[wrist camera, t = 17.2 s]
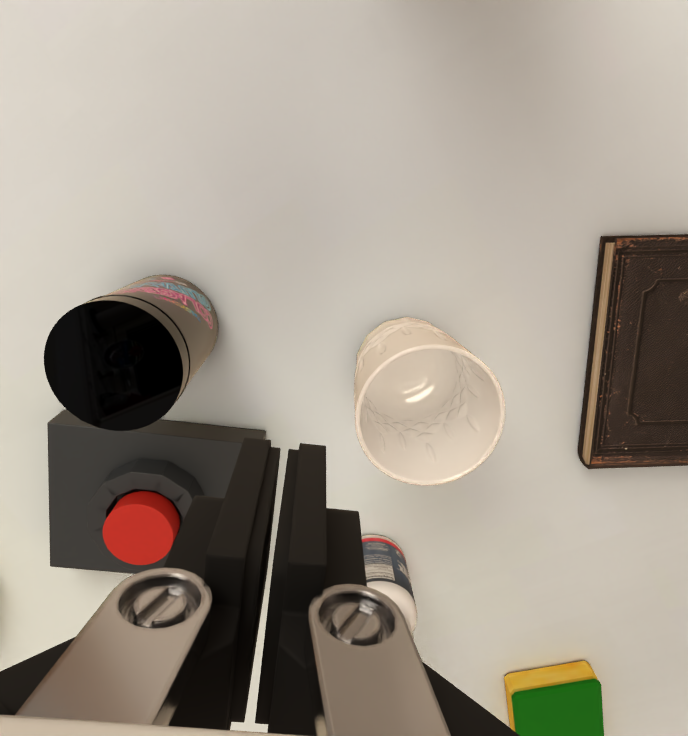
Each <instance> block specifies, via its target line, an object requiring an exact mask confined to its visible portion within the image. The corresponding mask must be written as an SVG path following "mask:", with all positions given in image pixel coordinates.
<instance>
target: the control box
mask: <svg viewBox="0 0 688 736" xmlns="http://www.w3.org/2000/svg"><path fill="white" fill-rule="evenodd" d="M265 436H266V431H262V430H253V429H243V428H234V427H224V426H215V425H205V424H196V423H187V422H177V421H168V420H157V421H156V422H154V423H152V424H150V425H148V426H145V427H143V428H139V429H136V430H130V431H112V430H106V429H101V428H98V427H95V426H93V425H90V424H88V423H86V422H84V421H82V420H80V419H79V418H77V417H76V416H74V415H73V414H72V413H71V412H69V411H68V410H63V411H62V412H61V413H59V414H58V415H57V416H56V417H54V418H53V419H52V420H51V421H49V422H48V468H49V522H50V566H52V567H63V568H75V569H86V570H98V571H109V572H121V573H133V574H136V573H140V572H143V571H146V570H149V569H157V568H163V567H164V565H165V562H166V560H167V558H168V555H169V553H170V551H171V549H170V551H169V552H168V553H167V554H166V556H164V557H163V558H162V559H160V560H159V561H157V562H155V563H151V564H147V565H134V564H130V563H127V562H124V561H122V560H120V559H118V558H117V557H115V556H114V555H113V554H112V553H111V552H110V551H109V549H108V548H107V546H106V544H105V542H104V539H103V525H104V522H105V520H106V518H107V517H108V515H109V514H110V512H111V511H112V510H113V508H114V507H115V505H116V504H117V502H118V501H119V500H120V499H121V498H122V497H124V496H125V495H127V494H130V493H132V492H136V491H151V492H155V493H158V494H160V495H162V496H164V497H165V498H167V499H168V500H169V501H170V502H171V503H172V504H173V505H174V506H175V508H176V510H177V512H178V514H179V519H180V526H179V530H180V528H181V525H182V523H183V521H184V519H185V516H186V514H187V512H188V509H189V507H190V505H191V502H192V500H193V498H194V497H195V496H196V495H198V496H208V497H218V498H225V495H226V492H227V489H228V486H229V483H230V480H231V477H232V474H233V471H234V468H235V465H236V462H237V459H238V456H239V453H240V450H241V447H242V443H243V440H244V438H245V437H246V438H255V439H265ZM178 532H179V531H178ZM177 535H178V533H177ZM177 535H176V537H177ZM175 539H176V538H175ZM174 542H175V540H174ZM174 542H173V544H174ZM172 546H173V545H172ZM171 548H172V547H171Z"/></svg>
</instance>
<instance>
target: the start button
mask: <svg viewBox="0 0 688 736" xmlns="http://www.w3.org/2000/svg"><path fill="white" fill-rule="evenodd" d="M179 526H180V519H179V514H178V512H177V510H176V508H175V506H174V505H173V504H172V503H171V502H170V501H169V500H168V499H167V498H165V497H164V496H162V495H160V494H158V493H155V492H151V491H136V492H132V493H130V494H127V495H125V496H124V497H122V498H121V499H120V500H119V501H118V502H117V504H116V505H115V507H114V508H113V510H112V511H111V512H110V514H109V515H108V517H107V518H106V520H105V522H104V525H103V539H104V542H105V544H106V546H107V548H108V549H109V551H110V552H111V553H112V554H113V555H114V556H115V557H117V558H118V559H120V560H122V561H124V562H127V563H130V564H134V565H147V564H151V563H155V562H157V561H159V560H160V559H162V558H163V557H164V556H166V554H167V553H168V552H169V551H170V549H171V547H172V545H173V542H174V540H175V538H176V535H177V533H178V531H179Z"/></svg>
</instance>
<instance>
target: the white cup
mask: <svg viewBox="0 0 688 736" xmlns="http://www.w3.org/2000/svg"><path fill="white" fill-rule="evenodd" d="M354 401H355V426H356V432H357V436H358V440H359V442H360V445H361V447H362V449H363V451H364V453H365V454H366V456H367V457H368V458H369V460H370V461H371V462H372V463H373V464H374V465H375V466H376V467H377V468H378V469H379V470H381V471H382V472H383V473H385V474H386V475H388V476H390V477H392V478H394V479H396V480H399V481H401V482H405V483H409V484H414V485H438V484H443V483H447V482H451V481H454V480H456V479H459V478H461V477H463V476H465V475H467V474H468V473H470V472H471V471H473V470H474V469H476V468H477V467H478V466H479V465H480V464H481V463H483V462H484V461H485V459H486V458H487V457H488V456H489V455H490V453H491V452H492V451H493V449H494V448H495V446H496V444H497V442H498V440H499V438H500V436H501V433H502V430H503V426H504V420H505V402H504V396H503V393H502V389H501V387H500V384H499V382H498V380H497V379H496V377H495V375H494V374H493V373H492V371H491V370H490V369H489V368H488V367H487V366H486V365H485V364H484V363H483V362H482V361H481V360H480V359H478V358H477V357H476V356H475V355H473V354H472V353H471V352H470V351H468V350H467V349H466V348H465V347H463V346H462V345H461V344H460V343H458V342H457V341H456V340H455V339H453V338H452V337H451V336H449V335H448V334H446V333H445V332H443V331H441V330H439V329H437V328H435V327H434V326H433V325H432V324H430V323H429V322H426V321H422V320H418V319H414V318H409V317H404V318H400V319H395V320H390V321H386V322H384V323H382V324H381V325H380V326H379V327H377V328H376V329H375V330H373V331H372V332H371V333H369V334H368V335H367V336H366V338H365V340H364V342H363V344H362V346H361V348H360V350H359V352H358V353H357V367H356V371H355V382H354Z"/></svg>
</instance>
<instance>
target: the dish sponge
mask: <svg viewBox="0 0 688 736" xmlns="http://www.w3.org/2000/svg"><path fill="white" fill-rule="evenodd" d="M504 680H505V688H506V697H507V705H508V713H509V722H510V728H511V729H512V730H513V731H515V732H516V733H517V734H519V735H520V736H604V728H603V711H602V693H601V684H600V682H599V681H598V680H597V677H596V675H595V673H594V671H593V670H592V668H591V666H590V664H589V663H588V662H586V661H579V662H573V663H567V664H562V665H556V666H550V667H544V668H538V669H532V670H527V671H521V672H515V673H509V674H507V675H506V676H505V677H504Z"/></svg>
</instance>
